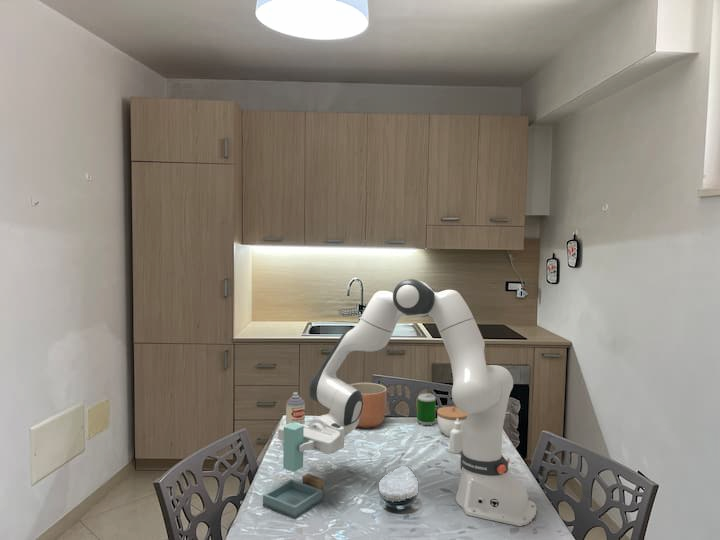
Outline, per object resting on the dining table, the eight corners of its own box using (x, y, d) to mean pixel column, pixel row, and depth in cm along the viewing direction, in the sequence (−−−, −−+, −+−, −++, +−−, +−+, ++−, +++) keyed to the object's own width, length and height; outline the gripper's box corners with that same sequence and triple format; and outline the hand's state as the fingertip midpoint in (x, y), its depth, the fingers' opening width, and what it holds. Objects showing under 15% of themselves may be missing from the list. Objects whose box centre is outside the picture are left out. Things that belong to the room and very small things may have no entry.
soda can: (434, 427, 208) (435, 398, 208) (416, 425, 210) (417, 396, 209) (435, 421, 215) (436, 393, 215) (417, 419, 217) (418, 391, 216)
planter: (356, 414, 222) (356, 380, 221) (392, 421, 214) (392, 385, 213) (337, 427, 206) (338, 390, 206) (375, 434, 199) (376, 396, 198)
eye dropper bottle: (447, 449, 185) (447, 417, 185) (461, 448, 186) (462, 416, 186) (451, 454, 181) (452, 421, 181) (466, 453, 182) (467, 420, 182)
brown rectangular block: (323, 491, 152) (323, 478, 152) (318, 495, 150) (318, 481, 150) (307, 486, 156) (307, 473, 155) (302, 489, 153) (302, 476, 153)
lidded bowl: (462, 442, 192) (463, 414, 192) (431, 436, 198) (432, 408, 198) (472, 432, 203) (473, 405, 202) (443, 426, 209) (443, 399, 209)
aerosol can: (291, 452, 181) (291, 396, 180) (282, 445, 186) (282, 392, 185) (307, 448, 185) (308, 393, 184) (298, 441, 190) (299, 389, 189)
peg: (303, 466, 145) (303, 425, 145) (293, 472, 142) (294, 430, 142) (292, 463, 148) (293, 422, 147) (283, 468, 144) (283, 426, 144)
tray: (322, 500, 147) (322, 490, 147) (295, 518, 137) (295, 507, 137) (291, 488, 154) (291, 479, 154) (262, 505, 144) (262, 495, 144)
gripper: (295, 414, 161) (264, 427, 149) (348, 428, 150) (319, 443, 138) (295, 434, 161) (264, 448, 150) (348, 449, 150) (319, 466, 138)
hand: (291, 446), depth 144 cm, fingers closed on peg, 4 cm apart
